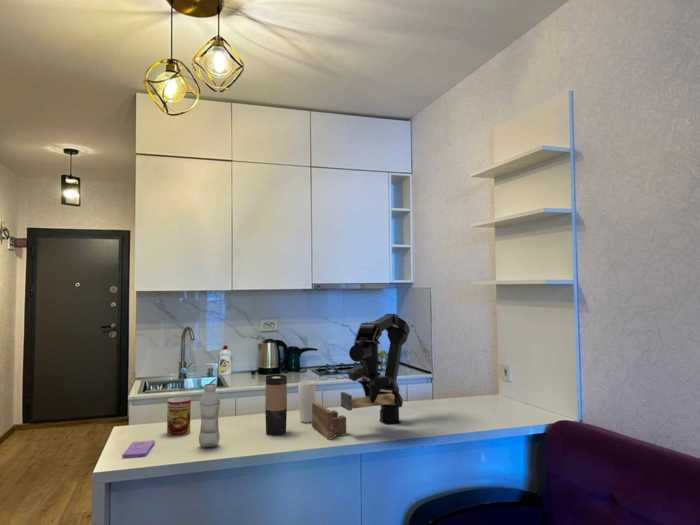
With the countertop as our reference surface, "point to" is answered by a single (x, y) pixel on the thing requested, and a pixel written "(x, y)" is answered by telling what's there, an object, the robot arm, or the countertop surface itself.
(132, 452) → the sponges
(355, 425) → the countertop surface
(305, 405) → the white cylinder
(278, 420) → the travel mug
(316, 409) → the walnut box
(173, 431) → the canned food
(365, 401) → the hammer
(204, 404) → the plastic bottle
